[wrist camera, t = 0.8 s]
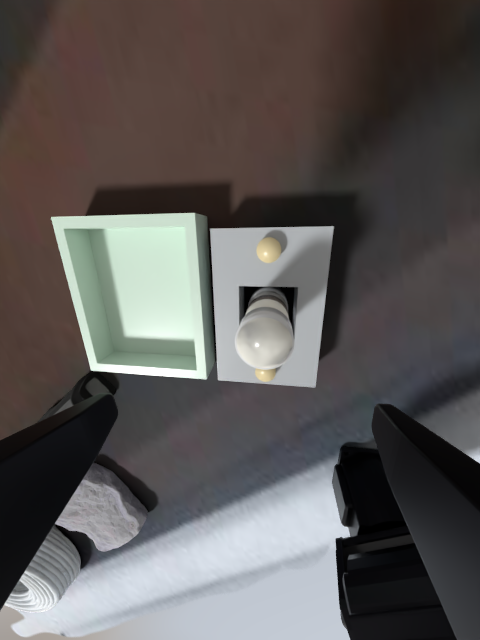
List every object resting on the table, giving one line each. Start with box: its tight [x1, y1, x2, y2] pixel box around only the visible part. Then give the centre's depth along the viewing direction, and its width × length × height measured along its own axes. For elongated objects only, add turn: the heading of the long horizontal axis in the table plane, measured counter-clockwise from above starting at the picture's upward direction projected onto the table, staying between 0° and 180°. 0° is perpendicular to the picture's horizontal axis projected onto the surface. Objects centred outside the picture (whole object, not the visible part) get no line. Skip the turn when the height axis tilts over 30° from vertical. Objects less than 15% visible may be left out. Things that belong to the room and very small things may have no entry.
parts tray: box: [51, 213, 215, 379], centre depth 20 cm, size 11×13×3 cm
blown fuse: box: [235, 287, 294, 370], centre depth 16 cm, size 3×3×8 cm
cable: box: [4, 525, 81, 613], centre depth 37 cm, size 18×18×6 cm
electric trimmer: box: [37, 372, 115, 423], centre depth 27 cm, size 4×16×3 cm, turn 130°
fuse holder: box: [210, 226, 334, 387], centre depth 18 cm, size 8×12×4 cm, turn 1°
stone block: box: [55, 462, 148, 551], centre depth 31 cm, size 12×5×10 cm
